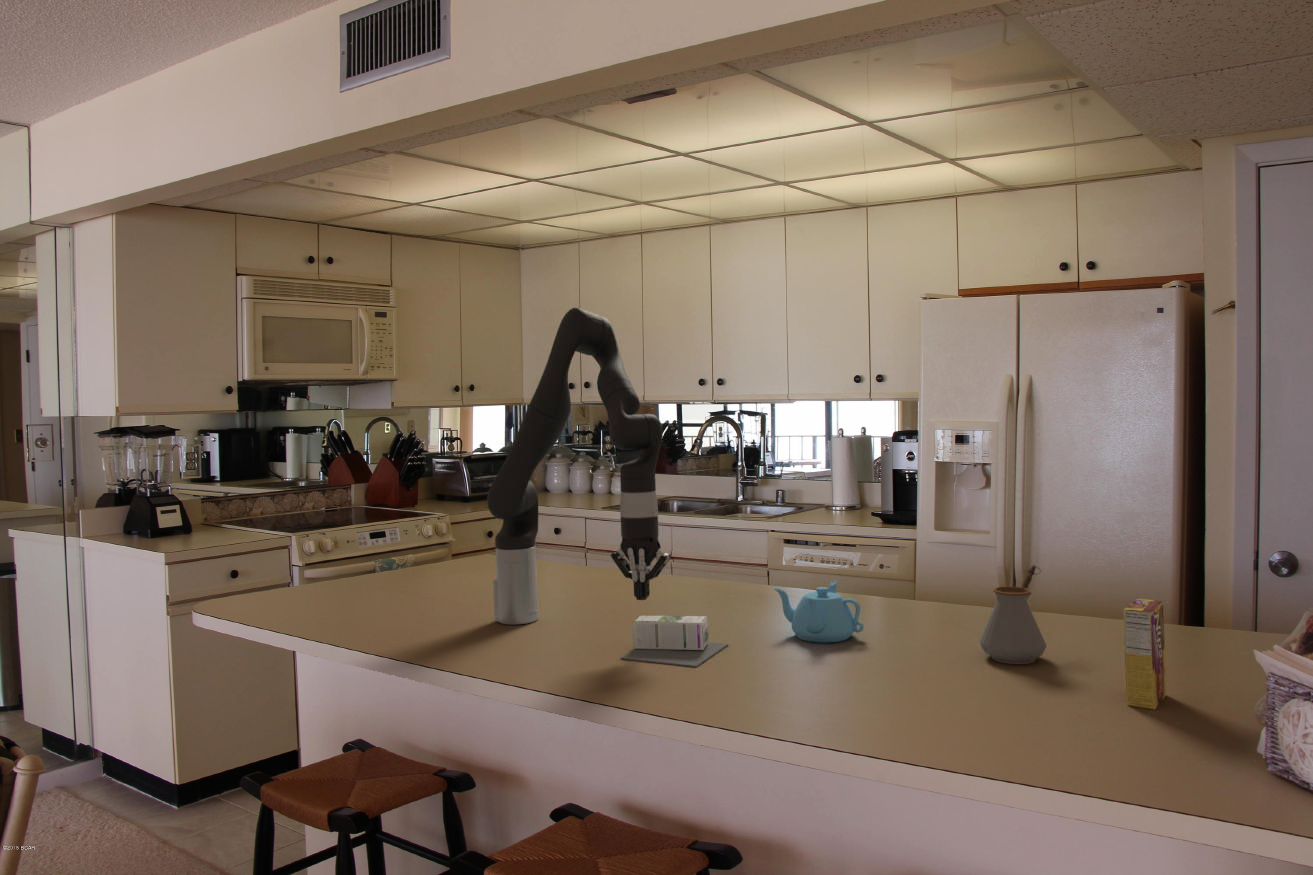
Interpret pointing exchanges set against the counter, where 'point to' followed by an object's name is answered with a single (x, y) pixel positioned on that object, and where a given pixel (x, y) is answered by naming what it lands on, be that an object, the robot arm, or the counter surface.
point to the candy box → (1145, 653)
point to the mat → (676, 655)
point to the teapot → (822, 615)
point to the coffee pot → (1013, 627)
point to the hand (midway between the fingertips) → (642, 599)
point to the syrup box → (670, 632)
